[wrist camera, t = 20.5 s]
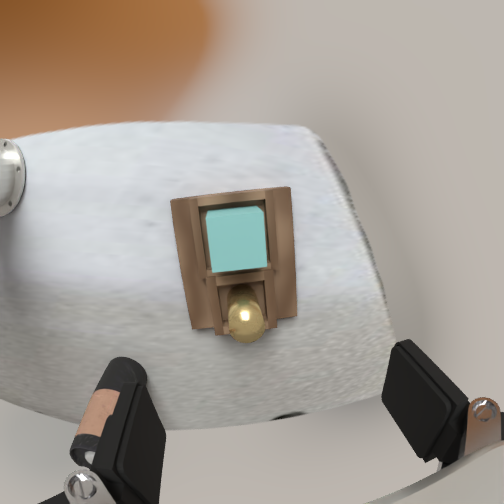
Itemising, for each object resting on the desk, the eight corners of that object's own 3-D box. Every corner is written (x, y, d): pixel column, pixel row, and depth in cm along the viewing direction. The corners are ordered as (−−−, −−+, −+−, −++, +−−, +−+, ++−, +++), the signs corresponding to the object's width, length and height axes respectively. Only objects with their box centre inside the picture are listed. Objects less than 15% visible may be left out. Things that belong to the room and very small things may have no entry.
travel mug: (142, 354, 42) (111, 451, 23) (153, 389, 45) (134, 482, 25) (101, 355, 42) (58, 442, 23) (114, 388, 44) (84, 474, 25)
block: (213, 256, 37) (212, 272, 31) (208, 210, 36) (205, 217, 30) (259, 251, 38) (267, 266, 32) (256, 205, 36) (263, 212, 30)
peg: (228, 312, 40) (231, 344, 32) (225, 285, 38) (227, 314, 31) (257, 309, 40) (266, 340, 32) (255, 282, 39) (264, 310, 31)
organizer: (193, 323, 42) (191, 337, 38) (172, 199, 37) (167, 202, 33) (293, 310, 43) (300, 323, 39) (286, 186, 38) (294, 188, 34)
